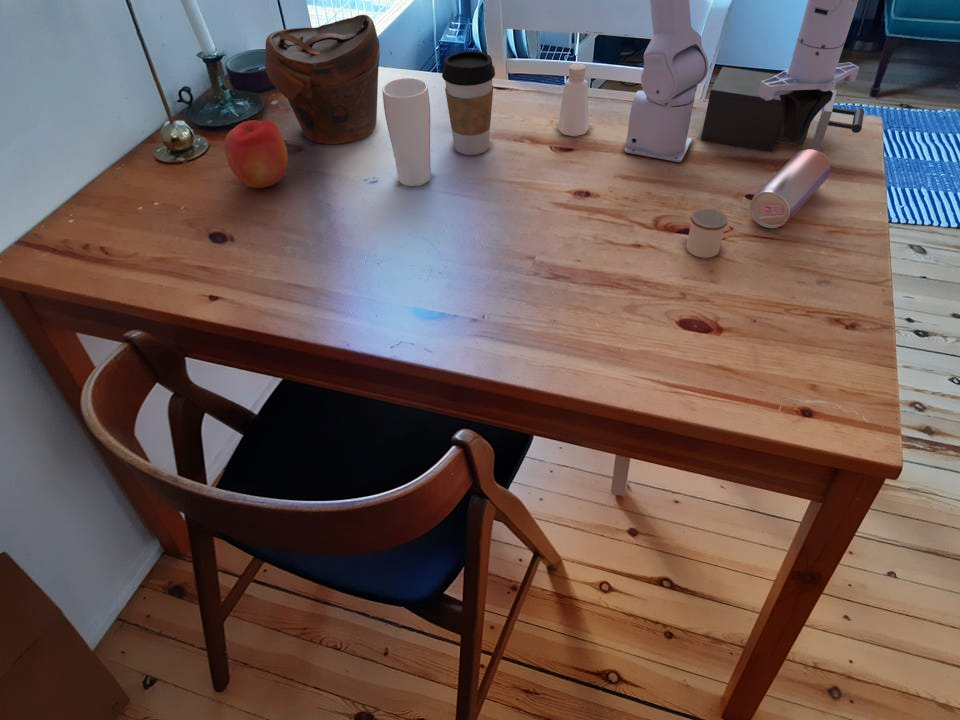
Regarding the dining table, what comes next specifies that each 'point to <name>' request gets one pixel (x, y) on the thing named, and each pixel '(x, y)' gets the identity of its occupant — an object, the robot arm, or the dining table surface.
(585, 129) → the pepper shaker
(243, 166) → the apple
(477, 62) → the coffee cup
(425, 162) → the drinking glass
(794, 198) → the beverage can
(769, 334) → the dining table surface
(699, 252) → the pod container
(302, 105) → the case
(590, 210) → the dining table surface
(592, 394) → the dining table surface
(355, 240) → the dining table surface
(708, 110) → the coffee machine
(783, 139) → the drawer
